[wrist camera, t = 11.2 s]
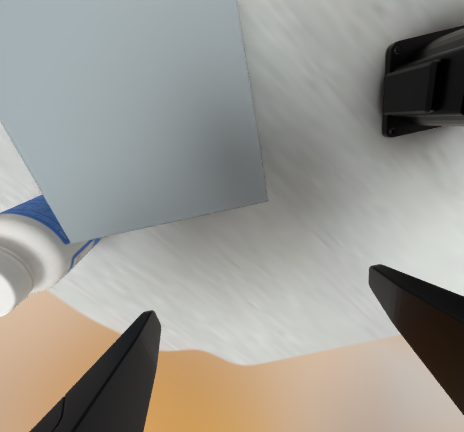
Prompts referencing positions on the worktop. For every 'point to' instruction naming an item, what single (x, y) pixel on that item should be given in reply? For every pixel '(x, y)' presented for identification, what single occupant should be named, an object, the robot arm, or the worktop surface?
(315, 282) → the worktop surface
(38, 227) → the pill bottle
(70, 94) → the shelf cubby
